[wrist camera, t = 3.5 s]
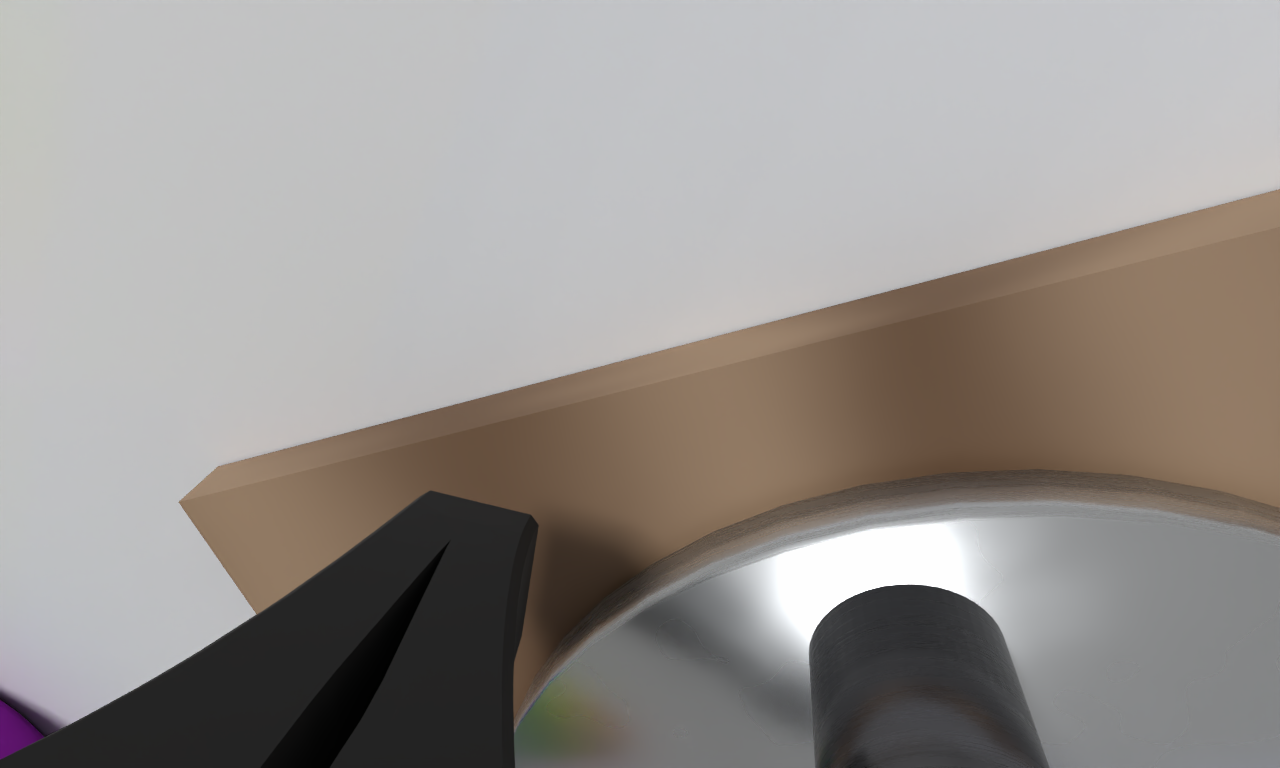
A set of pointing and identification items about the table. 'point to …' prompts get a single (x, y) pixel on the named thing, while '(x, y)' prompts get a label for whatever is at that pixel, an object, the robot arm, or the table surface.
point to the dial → (936, 635)
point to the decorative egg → (15, 731)
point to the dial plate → (816, 416)
